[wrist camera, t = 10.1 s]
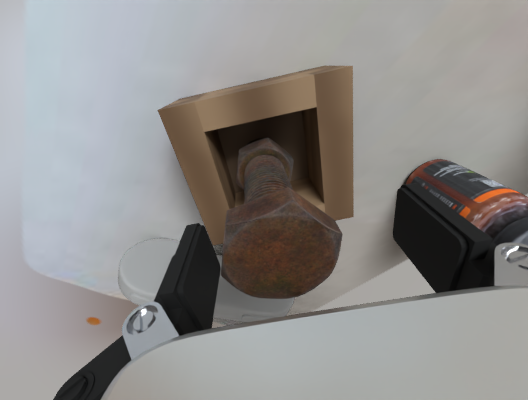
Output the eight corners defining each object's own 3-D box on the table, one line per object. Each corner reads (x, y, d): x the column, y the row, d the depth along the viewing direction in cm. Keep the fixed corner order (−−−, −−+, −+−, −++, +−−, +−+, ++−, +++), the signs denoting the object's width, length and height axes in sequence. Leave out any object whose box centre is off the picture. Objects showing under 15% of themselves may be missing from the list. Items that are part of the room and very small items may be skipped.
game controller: (136, 245, 29) (99, 305, 21) (138, 230, 28) (100, 289, 20) (283, 275, 33) (294, 334, 26) (289, 264, 32) (302, 321, 25)
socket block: (324, 65, 20) (352, 65, 15) (332, 186, 26) (353, 216, 21) (179, 99, 21) (157, 110, 16) (219, 210, 27) (213, 245, 22)
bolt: (280, 181, 25) (318, 307, 12) (232, 175, 24) (218, 304, 11) (291, 125, 22) (358, 210, 9) (237, 117, 21) (226, 198, 8)
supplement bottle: (407, 212, 29) (490, 287, 19) (396, 173, 26) (487, 238, 16) (456, 189, 28) (573, 258, 18) (451, 147, 25) (585, 200, 15)
